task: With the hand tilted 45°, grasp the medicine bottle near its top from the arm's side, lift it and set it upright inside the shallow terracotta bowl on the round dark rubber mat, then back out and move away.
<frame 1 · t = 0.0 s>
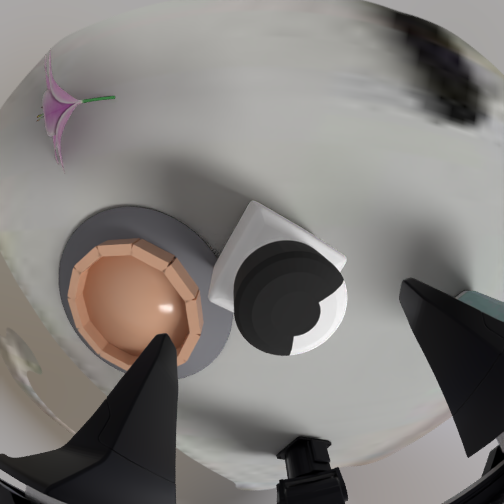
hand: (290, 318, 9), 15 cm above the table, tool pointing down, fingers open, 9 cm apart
rubber mat: (136, 305, 26), on the table
medicine bottle: (266, 252, 25), on the table, touching rubber mat
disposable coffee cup: (459, 311, 28), on the table
lily: (81, 115, 21), on the table
terracotta bowl: (135, 306, 25), resting on rubber mat
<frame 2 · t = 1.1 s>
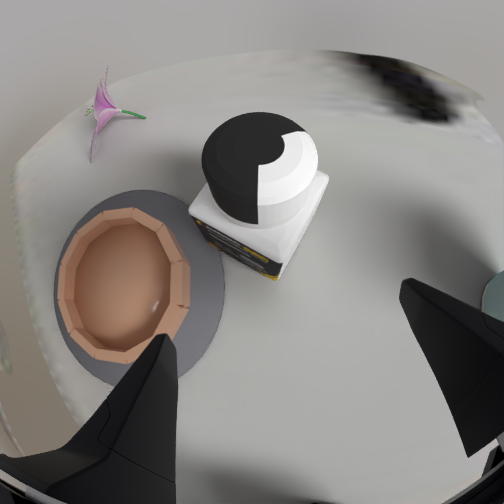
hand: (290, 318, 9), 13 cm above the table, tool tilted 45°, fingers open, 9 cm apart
rubber mat: (124, 286, 24), on the table
medicine bottle: (261, 229, 24), on the table, touching rubber mat
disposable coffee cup: (496, 307, 20), on the table
lily: (117, 131, 30), on the table
terracotta bowl: (122, 286, 24), resting on rubber mat
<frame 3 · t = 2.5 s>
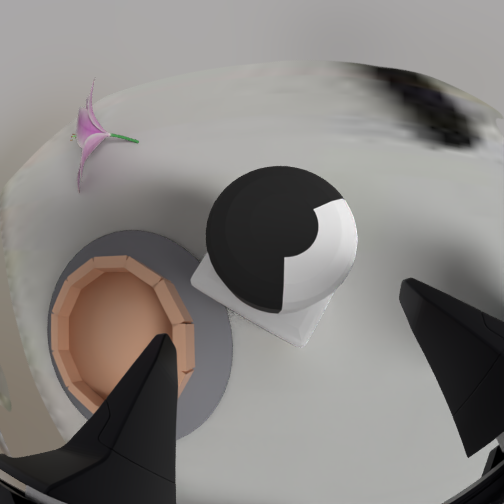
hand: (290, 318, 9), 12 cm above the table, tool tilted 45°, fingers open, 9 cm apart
rubber mat: (122, 340, 21), on the table
medicine bottle: (272, 281, 22), on the table, touching rubber mat
lily: (108, 156, 27), on the table
terracotta bowl: (119, 340, 21), resting on rubber mat
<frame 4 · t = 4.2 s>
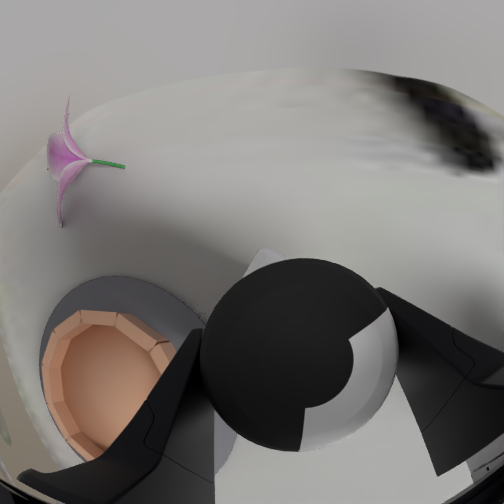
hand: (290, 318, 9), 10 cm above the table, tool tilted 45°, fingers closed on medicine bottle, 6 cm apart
rubber mat: (118, 395, 18), on the table
medicine bottle: (283, 341, 18), on the table, touching gripper, rubber mat
lily: (91, 183, 24), on the table
terracotta bowl: (116, 396, 18), resting on rubber mat
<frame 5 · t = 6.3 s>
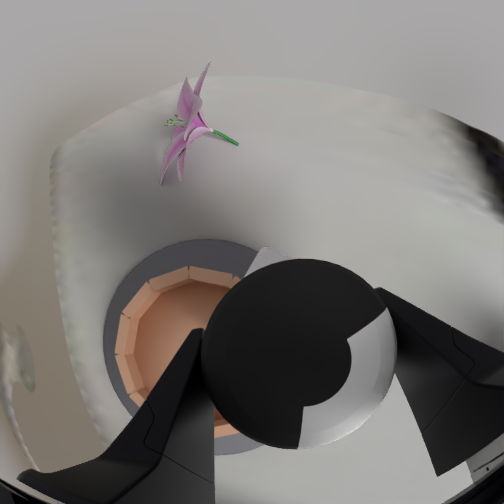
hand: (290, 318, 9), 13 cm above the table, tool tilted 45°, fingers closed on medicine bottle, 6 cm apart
rubber mat: (201, 353, 22), on the table
medicine bottle: (286, 339, 18), point 4 cm above the table, touching gripper
lily: (198, 150, 27), on the table
terracotta bowl: (200, 354, 22), resting on rubber mat
when the fingers open (11 cm above the table, at t = 8.3 s): medicine bottle stays where it is, resting on terracotta bowl.
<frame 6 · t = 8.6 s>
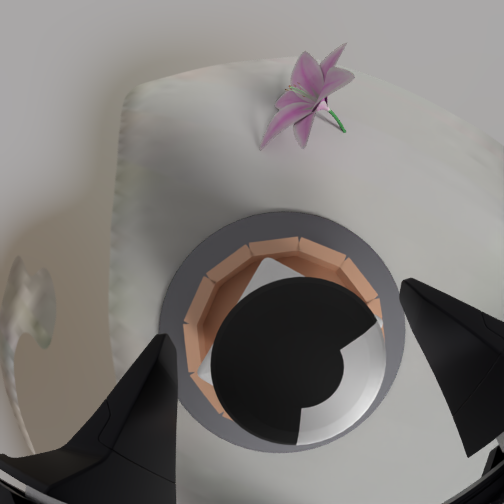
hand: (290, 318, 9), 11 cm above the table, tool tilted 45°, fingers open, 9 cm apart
rubber mat: (284, 337, 20), on the table
medicine bottle: (286, 341, 19), point 1 cm above the table, touching terracotta bowl
lily: (303, 127, 25), on the table
terracotta bowl: (285, 337, 20), resting on rubber mat
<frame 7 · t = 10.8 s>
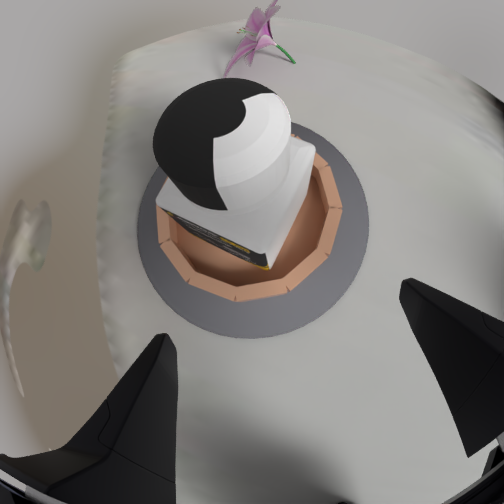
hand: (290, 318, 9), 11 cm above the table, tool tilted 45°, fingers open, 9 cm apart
rubber mat: (248, 213, 22), on the table
medicine bottle: (248, 213, 22), point 1 cm above the table, touching terracotta bowl
lily: (259, 64, 27), on the table
terracotta bowl: (248, 212, 22), resting on rubber mat
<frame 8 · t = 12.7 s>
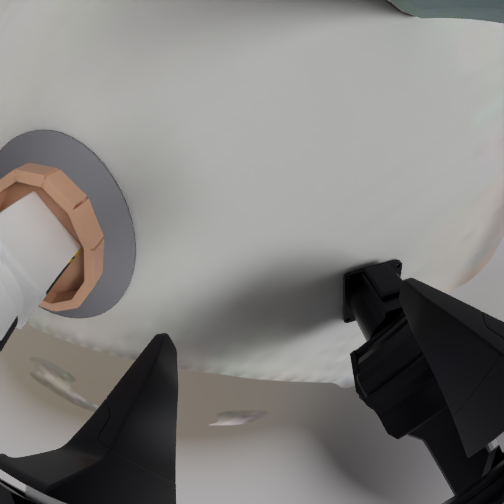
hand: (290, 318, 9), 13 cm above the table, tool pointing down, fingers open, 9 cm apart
rubber mat: (44, 235, 20), on the table
medicine bottle: (43, 239, 20), point 1 cm above the table, touching terracotta bowl
terracotta bowl: (42, 237, 20), resting on rubber mat
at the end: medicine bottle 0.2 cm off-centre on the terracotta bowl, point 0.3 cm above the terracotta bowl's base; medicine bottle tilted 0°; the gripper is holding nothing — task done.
